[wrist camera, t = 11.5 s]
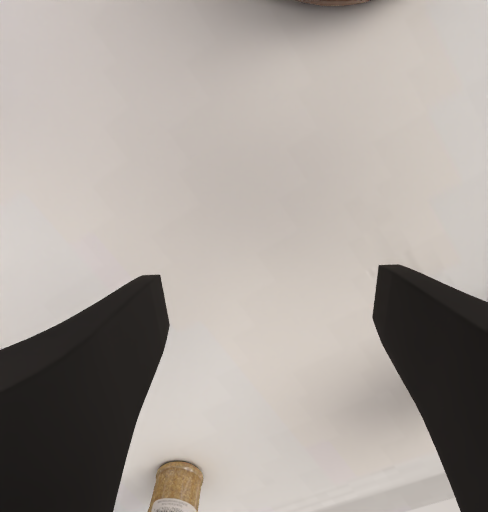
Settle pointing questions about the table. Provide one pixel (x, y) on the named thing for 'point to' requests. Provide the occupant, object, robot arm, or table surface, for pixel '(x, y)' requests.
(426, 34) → the table surface
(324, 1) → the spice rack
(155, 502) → the sprinkles bottle
